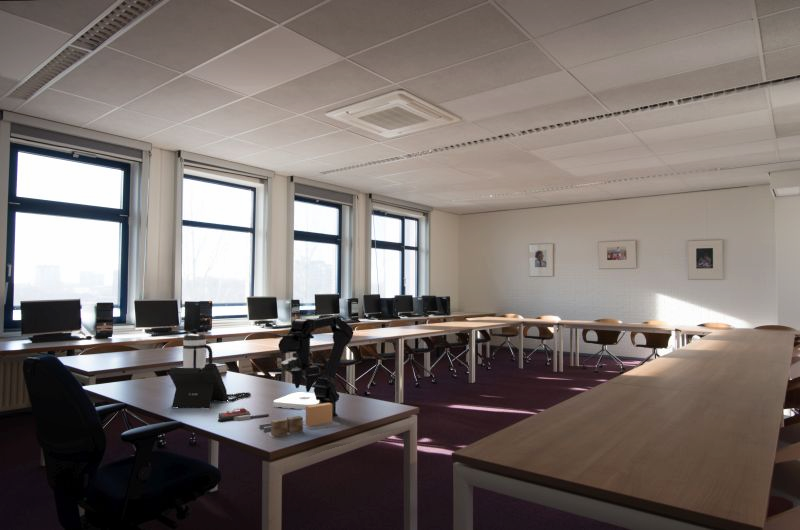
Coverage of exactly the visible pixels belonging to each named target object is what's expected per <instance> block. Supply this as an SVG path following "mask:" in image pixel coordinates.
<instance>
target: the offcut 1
mask: <svg viewBox="0 0 800 530" xmlns="http://www.w3.org/2000/svg"><path fill="white" fill-rule="evenodd" d="M270 423H271V435H273V436H276V437H280V436H279V435H282V436H285V435H284V434H287V418H286V417H284V418H279V419H272V420H271V421H270ZM287 435H288V434H287Z"/></svg>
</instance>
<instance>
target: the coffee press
mask: <svg viewBox="0 0 800 530" xmlns="http://www.w3.org/2000/svg"><path fill="white" fill-rule="evenodd" d="M192 332H193V333H187V334H185V335H184V336H183V338H182V341H183V344H182V368H201V369H202V368H204V367H205V365H206V364H207V352H208V363H213V350H212V347H211V346H210V345H208V344H207V340H208V338H207V336H206V334H205V333H202V332H200V333H199V332H198V330H197V329H196V328H194V329H192Z"/></svg>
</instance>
